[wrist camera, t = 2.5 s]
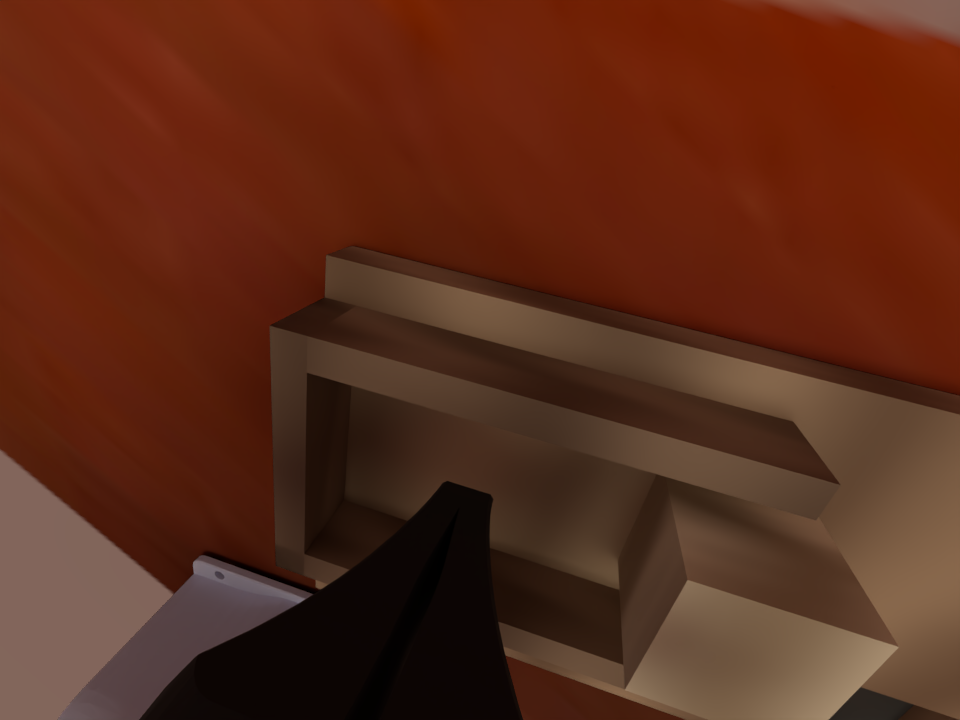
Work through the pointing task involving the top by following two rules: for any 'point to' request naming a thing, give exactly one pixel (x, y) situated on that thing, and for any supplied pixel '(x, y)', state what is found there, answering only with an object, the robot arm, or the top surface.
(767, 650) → the cube
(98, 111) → the top surface
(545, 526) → the board
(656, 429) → the cubby
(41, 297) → the top surface
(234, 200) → the top surface
